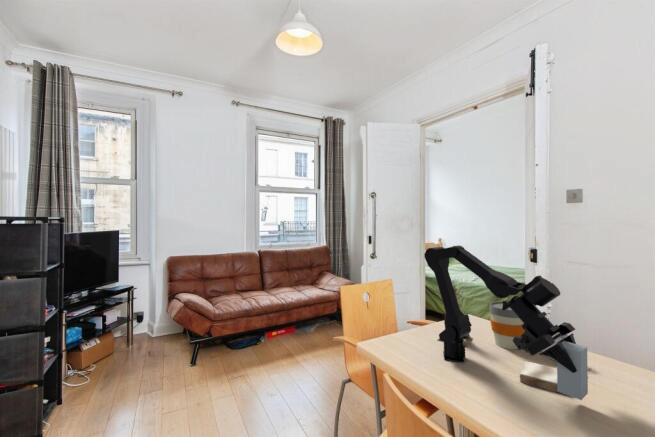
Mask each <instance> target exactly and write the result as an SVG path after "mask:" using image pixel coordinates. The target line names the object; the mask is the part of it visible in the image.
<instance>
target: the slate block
mask: <svg viewBox="0 0 655 437" xmlns="http://www.w3.org/2000/svg"><path fill="white" fill-rule="evenodd" d="M562 344H563V346H564V348H565V350H566V351H567V353H568V355H569V357H570V358H571V360H572V362H573V364H574V366H575V368H576V370H577V372H575V373H572V372H571V371H570V370H568V369H567V368H565V367H564V366H563V365H561V364H560V363H558V362H557V361H556V368H557V391H558V392H557V393H559V392H561V393H560V394H563V395H567V396H569V397H572V398H574V399H577V400H580V401H583V399H584V398H585V397H586V396H587V395H588V394H589V389H588V388H589V387H588V385H589V384H588V380H589V378H588V377H589V376H588V375H589V374H588V346H584V345H580V344H577V343H576V344H573V343H570V342H566V341H563V342H562Z"/></svg>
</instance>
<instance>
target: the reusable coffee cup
mask: <svg viewBox="0 0 655 437" xmlns="http://www.w3.org/2000/svg"><path fill="white" fill-rule="evenodd" d="M502 301H503V300H501V301H499V300H498V301H492V302H490V303H489V307H488V308H489V310H488V312H489V313H490V317H489V319H490V326H491V331H492V332H493V337H494V338H493V339H494V343H495V345H496V346H498V347H500V348H503V349H507V350H519V349H518V347H517V346H516V345H515V344H514V342H513V341H512V340H513V339H514V337H515V336H521V335H522V334H523V333H524V332H525V330H524V329H523V328H522V325H523V324H524V323H523V322H522V320H520V319H519V318H518V316H517V315H516V314H515V313H514V312H513V311H512V310H511V308H509V309H507V310H502V306H503V302H502Z"/></svg>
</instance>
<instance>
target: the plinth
mask: <svg viewBox="0 0 655 437" xmlns="http://www.w3.org/2000/svg"><path fill="white" fill-rule="evenodd" d="M519 378H520V380H519V382H520V383H524V384H527V385H530V386H533V387H538V388H542V389H546V390H548V391H552V392H556V393H560V394H562V393H561V392H558V391H557V367H551V366H547V365H543V364H540V363H534V362H530V361H526V360H524V361H523V363H522V366H521V370H520V373H519Z"/></svg>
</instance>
